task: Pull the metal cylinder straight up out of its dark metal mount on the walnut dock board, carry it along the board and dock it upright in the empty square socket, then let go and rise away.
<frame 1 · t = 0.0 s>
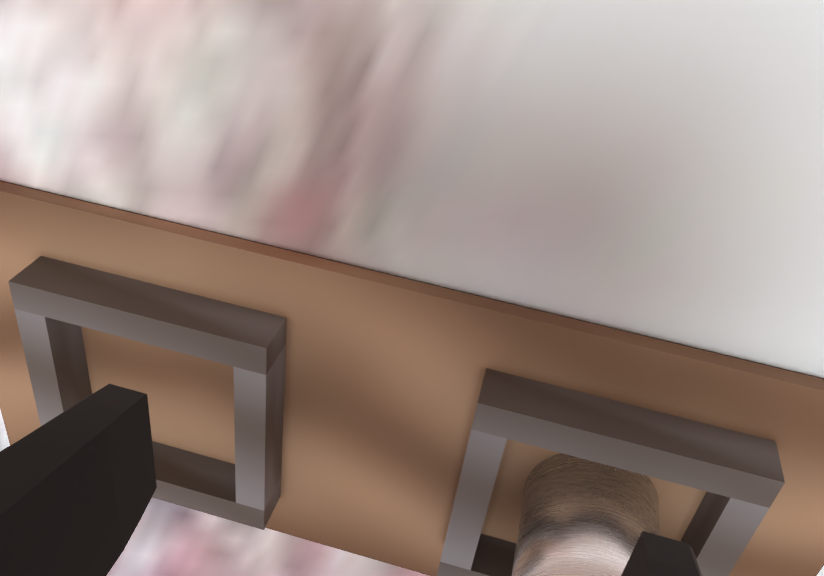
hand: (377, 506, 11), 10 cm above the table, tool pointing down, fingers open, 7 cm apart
dock board: (376, 428, 24), on the table
metal cylinder: (590, 498, 23), resting on dock board
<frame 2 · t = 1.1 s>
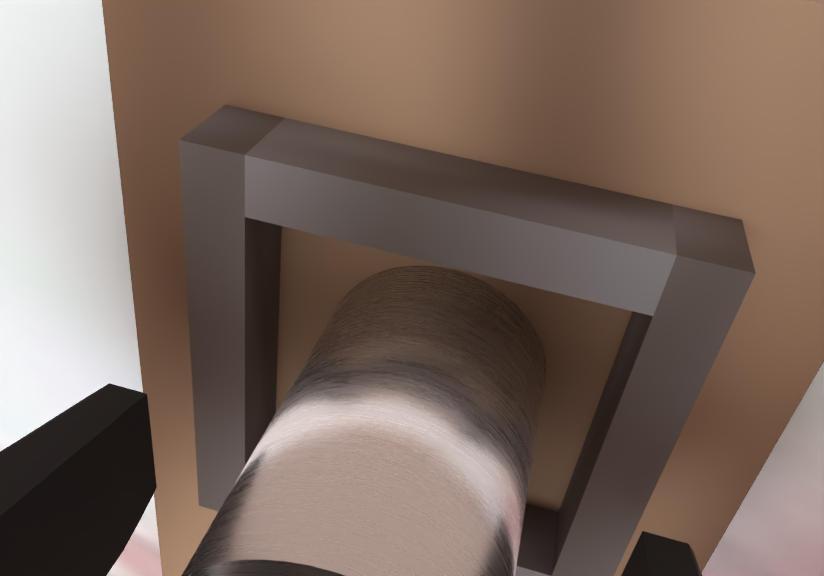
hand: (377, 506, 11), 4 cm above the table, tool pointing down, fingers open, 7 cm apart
dock board: (397, 568, 18), on the table
metal cylinder: (434, 360, 14), resting on dock board
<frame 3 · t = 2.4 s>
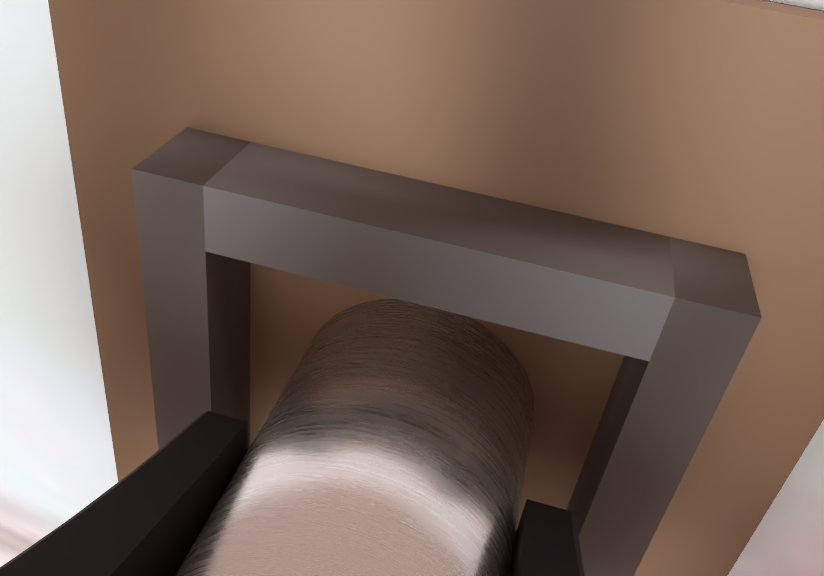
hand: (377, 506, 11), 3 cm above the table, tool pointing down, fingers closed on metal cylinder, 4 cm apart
metal cylinder: (415, 396, 13), resting on dock board, touching gripper
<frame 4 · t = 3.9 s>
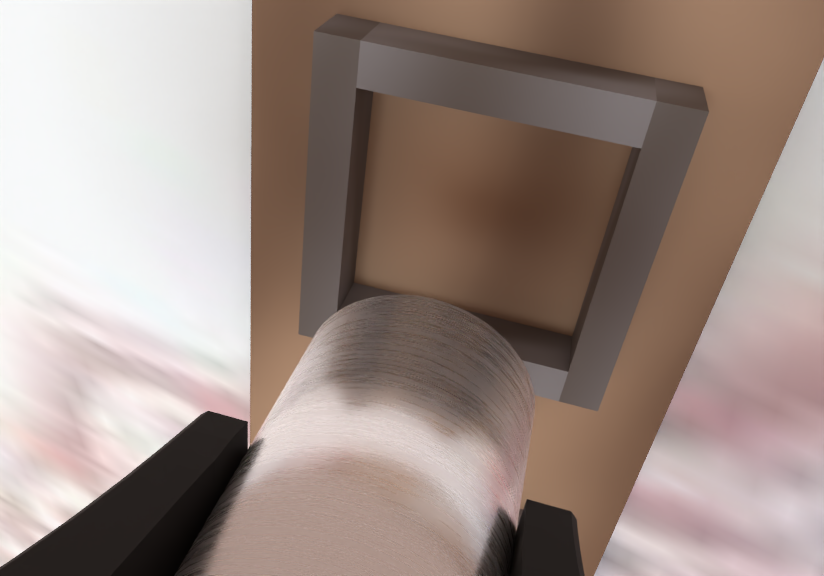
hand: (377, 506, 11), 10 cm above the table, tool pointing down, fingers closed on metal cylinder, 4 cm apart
dock board: (442, 404, 23), on the table
metal cylinder: (416, 393, 13), point 7 cm above the table, touching gripper
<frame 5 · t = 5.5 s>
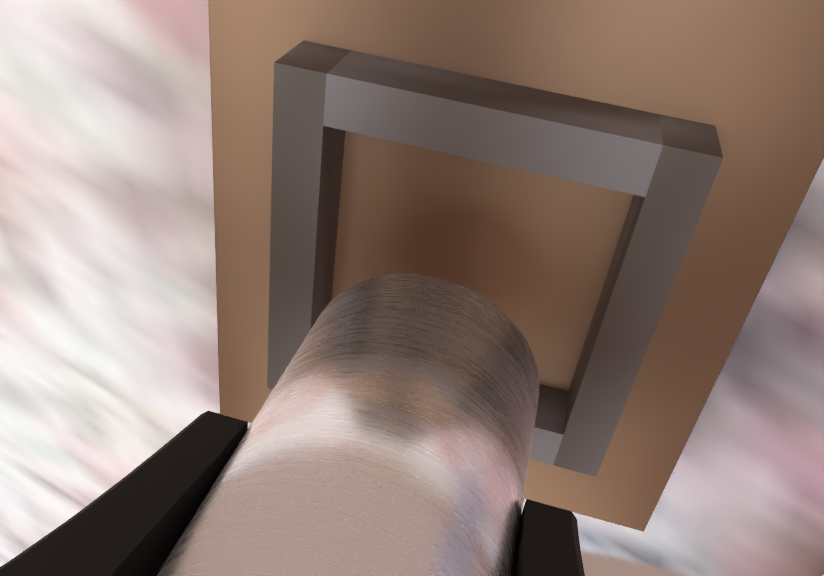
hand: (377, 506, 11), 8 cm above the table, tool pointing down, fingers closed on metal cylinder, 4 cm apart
metal cylinder: (420, 377, 13), point 5 cm above the table, touching gripper
when the fingers open (4 cm above the table, at t = 7.1 s): metal cylinder stays where it is, resting on dock board.
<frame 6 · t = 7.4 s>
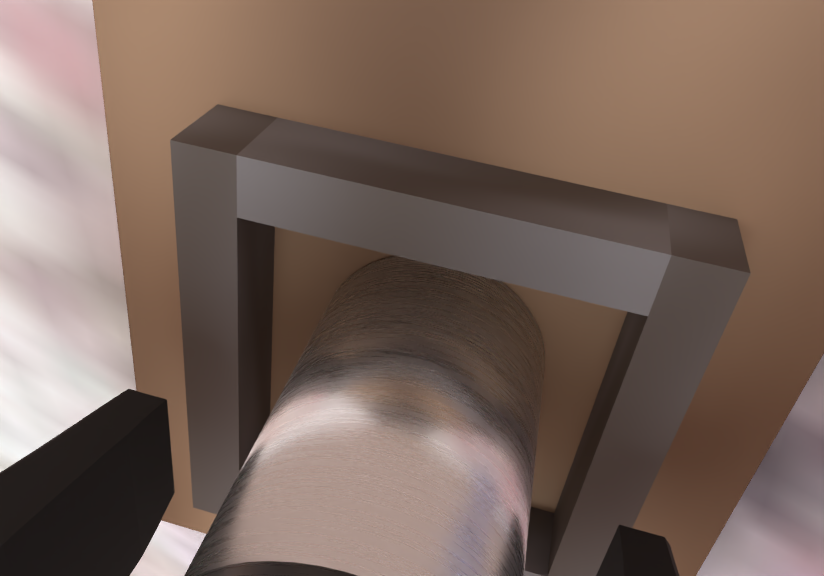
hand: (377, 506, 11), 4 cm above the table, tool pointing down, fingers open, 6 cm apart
metal cylinder: (431, 351, 13), point 1 cm above the table, touching dock board
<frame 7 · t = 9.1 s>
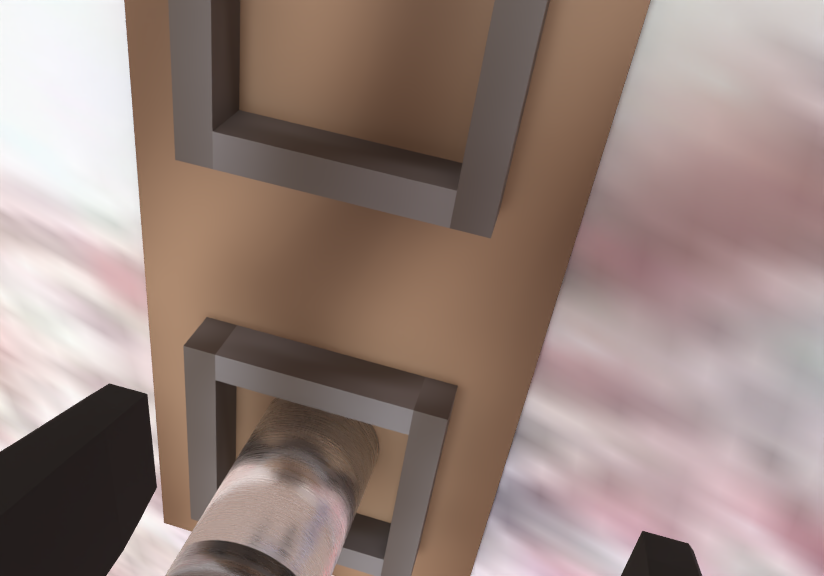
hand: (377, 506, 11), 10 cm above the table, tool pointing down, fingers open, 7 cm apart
dock board: (343, 259, 21), on the table
metal cylinder: (321, 436, 25), point 1 cm above the table, touching dock board
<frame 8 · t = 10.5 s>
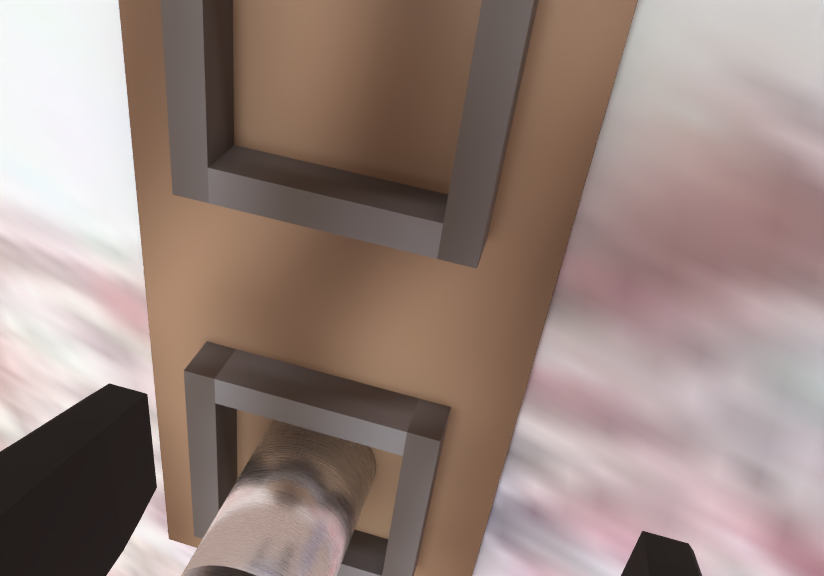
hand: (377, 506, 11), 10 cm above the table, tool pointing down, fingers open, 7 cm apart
dock board: (338, 286, 22), on the table
metal cylinder: (319, 456, 25), point 1 cm above the table, touching dock board
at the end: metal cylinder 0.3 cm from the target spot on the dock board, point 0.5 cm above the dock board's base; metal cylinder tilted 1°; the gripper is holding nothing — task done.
